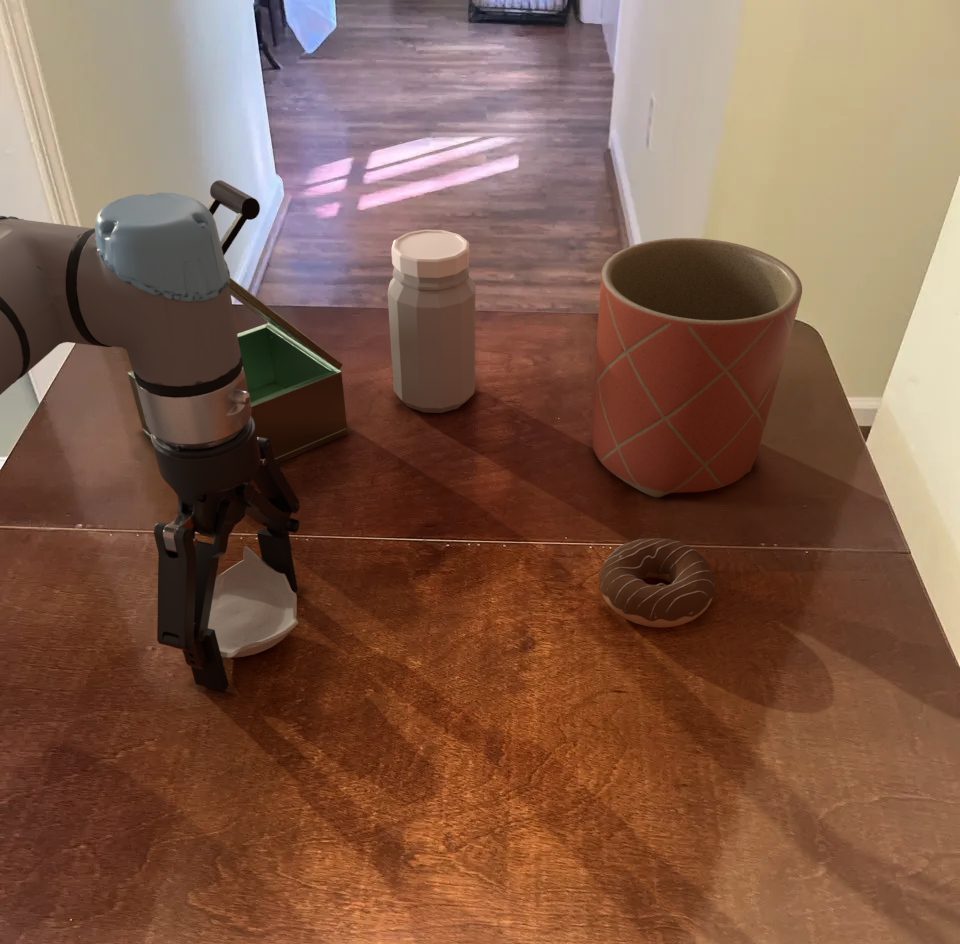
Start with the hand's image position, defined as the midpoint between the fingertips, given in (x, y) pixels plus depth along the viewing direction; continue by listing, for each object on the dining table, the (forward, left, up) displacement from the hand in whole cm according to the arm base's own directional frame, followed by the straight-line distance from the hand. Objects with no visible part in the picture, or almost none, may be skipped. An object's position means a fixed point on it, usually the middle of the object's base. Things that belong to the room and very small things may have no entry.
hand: (249, 635), depth 87 cm
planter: (+30, +41, 0) cm, 51 cm away
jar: (+1, +44, 0) cm, 44 cm away
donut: (+33, +17, 0) cm, 37 cm away
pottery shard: (0, 0, 0) cm, 0 cm away
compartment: (-16, +29, 0) cm, 33 cm away
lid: (-15, +31, +15) cm, 37 cm away
